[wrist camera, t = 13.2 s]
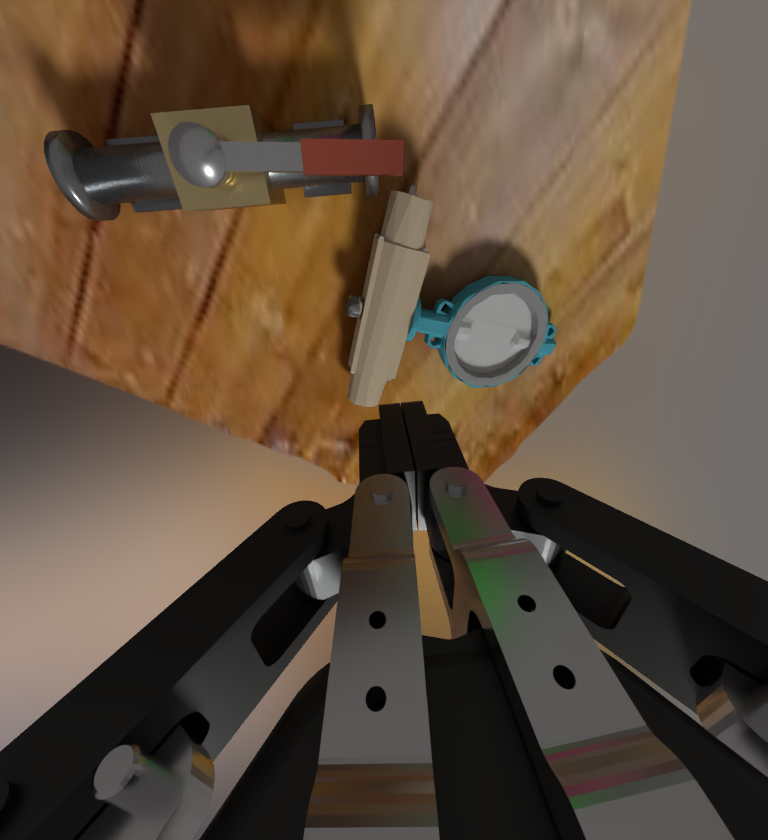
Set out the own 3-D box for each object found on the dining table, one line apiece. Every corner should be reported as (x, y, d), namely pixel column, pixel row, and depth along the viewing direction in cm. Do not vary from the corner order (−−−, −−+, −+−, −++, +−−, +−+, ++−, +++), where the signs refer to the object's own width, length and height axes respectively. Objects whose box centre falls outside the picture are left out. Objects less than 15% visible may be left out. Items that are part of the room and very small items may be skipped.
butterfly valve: (581, 244, 46) (367, 172, 37) (619, 252, 40) (377, 169, 31) (498, 410, 59) (326, 386, 51) (517, 434, 54) (329, 411, 45)
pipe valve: (124, 219, 38) (58, 223, 30) (90, 139, 34) (4, 118, 26) (375, 196, 39) (381, 194, 30) (369, 115, 35) (374, 86, 26)
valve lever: (188, 188, 29) (177, 187, 27) (172, 126, 26) (160, 121, 25) (399, 188, 30) (402, 188, 28) (401, 129, 28) (404, 124, 26)
